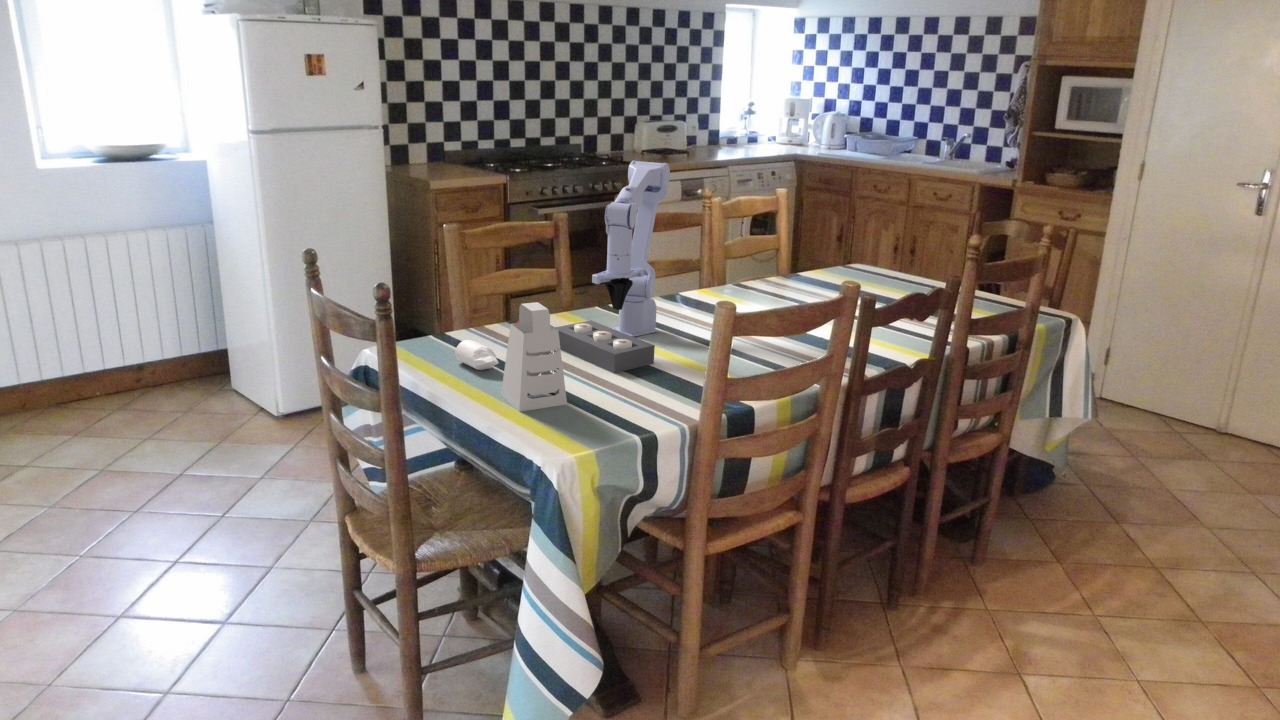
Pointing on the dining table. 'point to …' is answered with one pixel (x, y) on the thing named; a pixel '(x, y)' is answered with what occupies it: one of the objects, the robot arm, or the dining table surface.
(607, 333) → the button middle
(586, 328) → the button
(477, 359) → the roll
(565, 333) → the mount
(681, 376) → the dining table surface
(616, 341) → the button
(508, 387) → the grater
